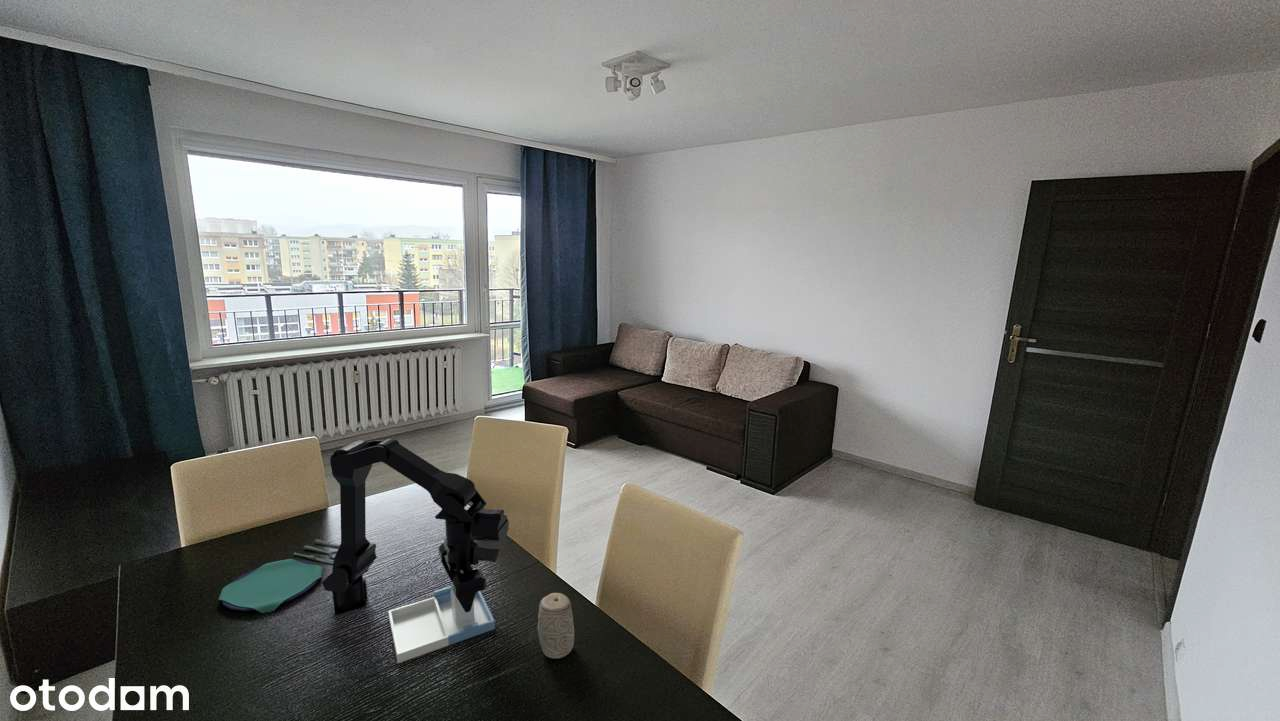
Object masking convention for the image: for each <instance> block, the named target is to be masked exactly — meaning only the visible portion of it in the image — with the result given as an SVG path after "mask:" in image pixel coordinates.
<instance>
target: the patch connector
mask: <svg viewBox="0 0 1280 721" xmlns="http://www.w3.org/2000/svg"><path fill="white" fill-rule="evenodd" d="M451 586H452V587H451V603H452V615H453V618H454V621H455V623H456V625H457V624H460V623H463V622H466V621H469V620H472V619H474V601H473V604H472V607H471V611H469V612H465V611H464V609H463V607H462V606H461V604H460V602H459V601H458V599H457V597H456V596H455V594H454V591H453V585H451Z"/></svg>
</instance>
